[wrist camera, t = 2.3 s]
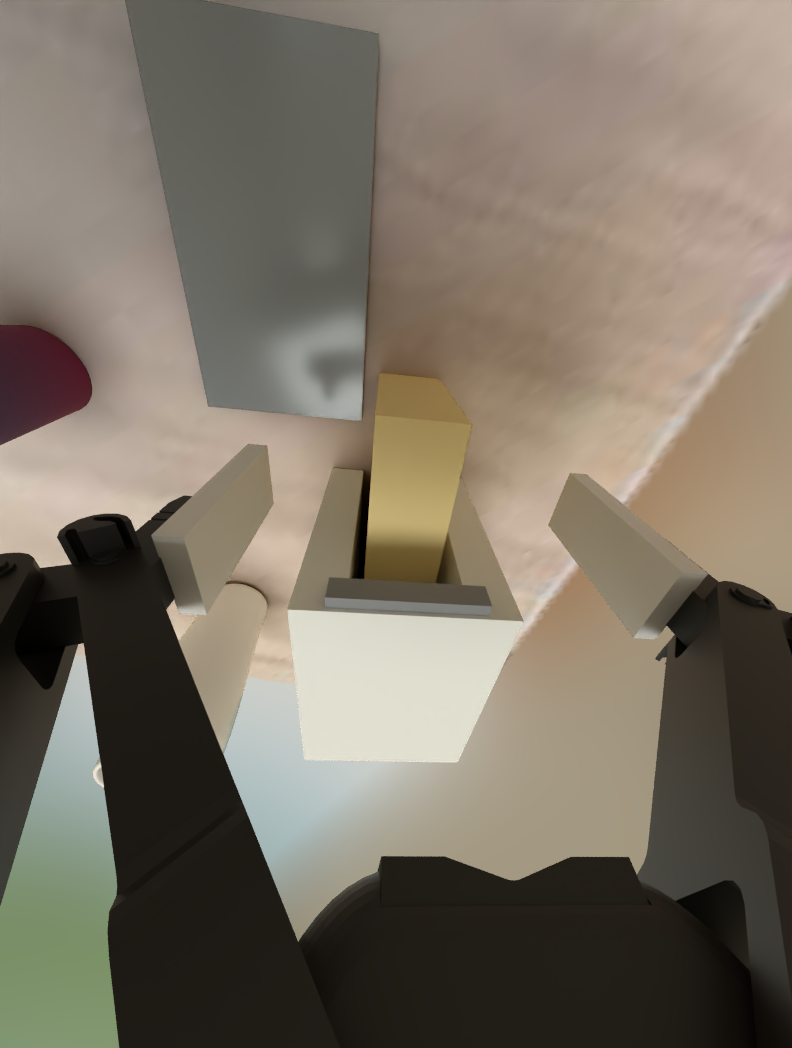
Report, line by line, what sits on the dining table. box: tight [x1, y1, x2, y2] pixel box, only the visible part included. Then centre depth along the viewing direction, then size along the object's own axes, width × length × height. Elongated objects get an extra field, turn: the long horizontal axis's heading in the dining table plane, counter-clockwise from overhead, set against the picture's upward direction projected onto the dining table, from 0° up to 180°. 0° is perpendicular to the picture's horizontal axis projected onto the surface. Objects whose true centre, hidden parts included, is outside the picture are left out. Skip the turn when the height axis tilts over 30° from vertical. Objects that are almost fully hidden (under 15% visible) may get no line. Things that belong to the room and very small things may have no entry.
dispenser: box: [287, 468, 524, 762], centre depth 23 cm, size 15×10×14 cm
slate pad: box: [125, 0, 379, 421], centre depth 18 cm, size 16×10×1 cm, turn 174°
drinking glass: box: [92, 584, 267, 787], centre depth 26 cm, size 7×7×15 cm
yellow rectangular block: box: [364, 373, 472, 583], centre depth 21 cm, size 14×4×10 cm, turn 174°
